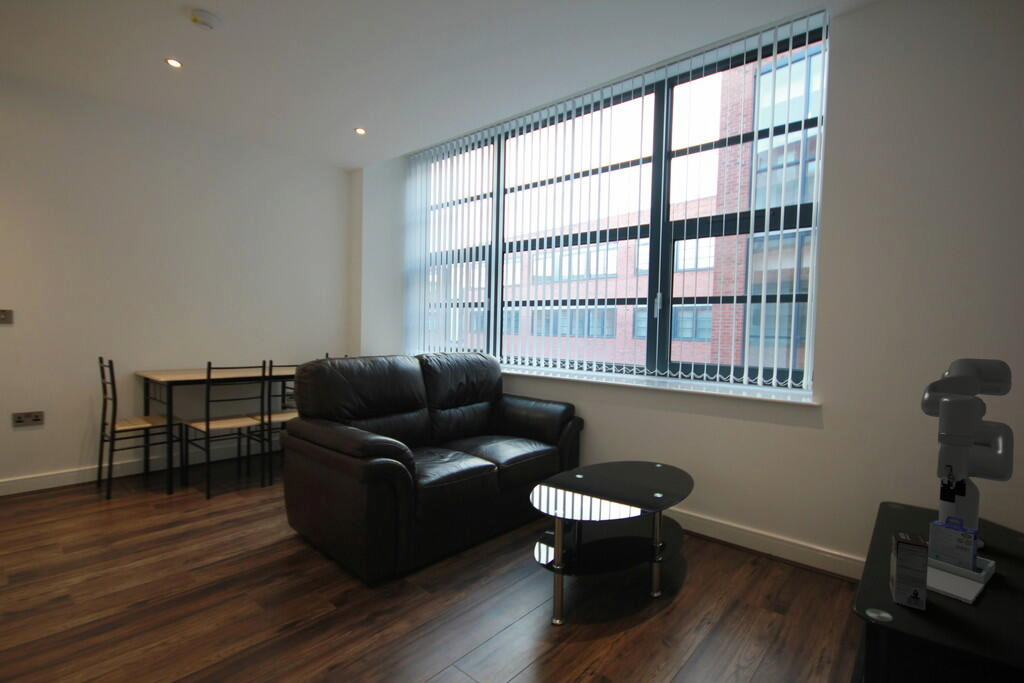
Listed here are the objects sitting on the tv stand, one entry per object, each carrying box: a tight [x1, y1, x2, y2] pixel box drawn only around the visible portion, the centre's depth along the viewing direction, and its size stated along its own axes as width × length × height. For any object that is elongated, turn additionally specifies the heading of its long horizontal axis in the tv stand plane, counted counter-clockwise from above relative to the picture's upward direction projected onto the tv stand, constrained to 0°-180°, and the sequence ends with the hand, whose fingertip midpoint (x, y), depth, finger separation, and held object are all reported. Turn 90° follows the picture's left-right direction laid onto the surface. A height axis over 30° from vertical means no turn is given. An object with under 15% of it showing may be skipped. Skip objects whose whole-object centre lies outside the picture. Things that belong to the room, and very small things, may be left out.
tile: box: [926, 567, 985, 605], centre depth 129 cm, size 14×14×1 cm
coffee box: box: [889, 528, 929, 611], centre depth 121 cm, size 9×6×16 cm
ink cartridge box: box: [928, 516, 979, 573], centre depth 139 cm, size 10×6×14 cm, turn 37°
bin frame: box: [926, 541, 996, 586], centre depth 139 cm, size 15×16×3 cm
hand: (952, 498), depth 138 cm, fingers open, 9 cm apart
